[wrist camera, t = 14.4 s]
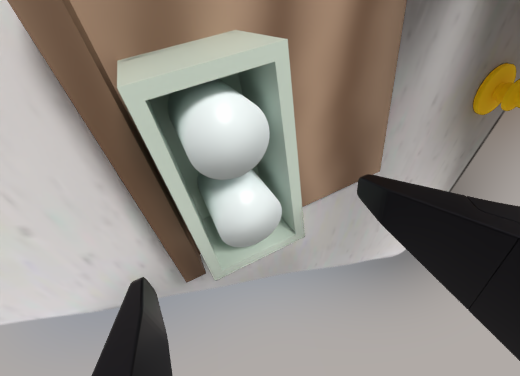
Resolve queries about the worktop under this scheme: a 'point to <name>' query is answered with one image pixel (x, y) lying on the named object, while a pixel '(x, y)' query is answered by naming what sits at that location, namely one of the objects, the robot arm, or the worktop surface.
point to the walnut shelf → (213, 23)
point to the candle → (498, 90)
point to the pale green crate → (222, 141)
